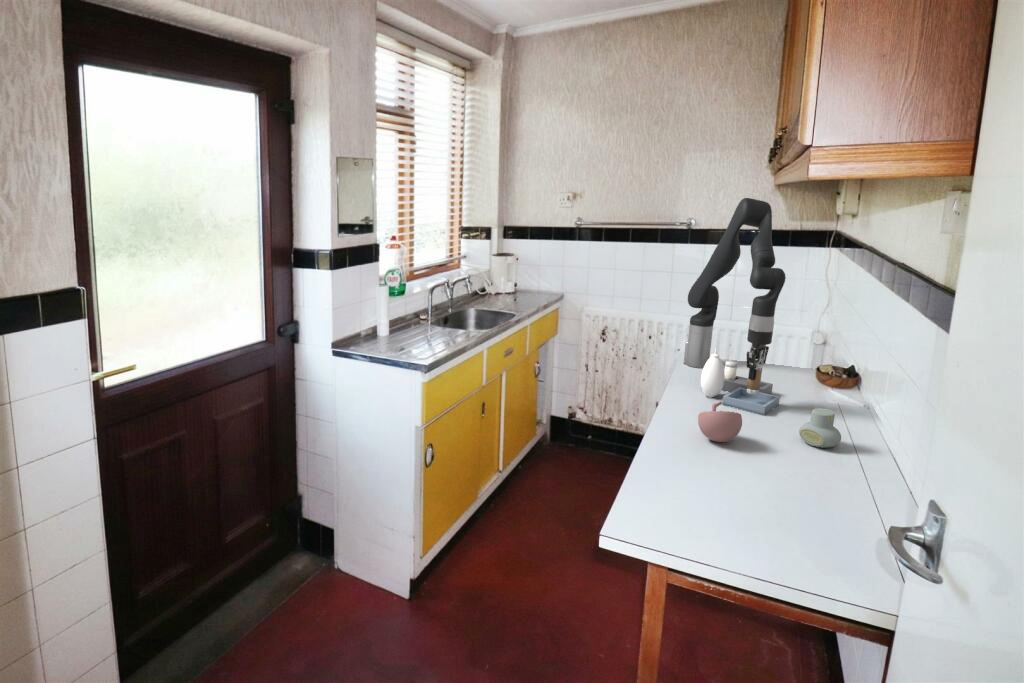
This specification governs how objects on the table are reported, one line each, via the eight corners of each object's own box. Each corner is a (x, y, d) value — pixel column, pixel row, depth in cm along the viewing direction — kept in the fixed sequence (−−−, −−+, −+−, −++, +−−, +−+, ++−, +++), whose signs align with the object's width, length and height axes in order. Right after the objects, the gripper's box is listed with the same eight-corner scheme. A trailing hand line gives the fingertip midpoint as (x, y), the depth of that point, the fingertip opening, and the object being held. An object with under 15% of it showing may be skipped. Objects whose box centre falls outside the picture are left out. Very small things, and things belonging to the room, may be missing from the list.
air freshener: (792, 440, 181) (797, 407, 179) (809, 435, 185) (814, 403, 183) (827, 453, 172) (833, 420, 170) (844, 448, 176) (850, 415, 174)
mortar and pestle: (732, 433, 184) (736, 396, 182) (745, 449, 173) (750, 411, 170) (691, 431, 185) (695, 395, 182) (701, 447, 173) (706, 409, 170)
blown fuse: (744, 392, 208) (748, 364, 206) (749, 390, 211) (752, 362, 209) (756, 395, 206) (760, 366, 204) (760, 393, 209) (764, 364, 206)
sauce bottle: (698, 398, 215) (704, 348, 210) (699, 391, 222) (704, 343, 217) (722, 401, 212) (728, 350, 208) (721, 394, 220) (727, 345, 215)
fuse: (720, 388, 227) (723, 361, 225) (725, 385, 230) (728, 359, 228) (731, 390, 224) (734, 364, 222) (735, 388, 227) (739, 362, 225)
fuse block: (712, 388, 226) (713, 377, 225) (722, 383, 233) (724, 372, 232) (762, 400, 215) (763, 389, 214) (771, 394, 222) (772, 383, 221)
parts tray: (722, 404, 209) (723, 396, 208) (738, 395, 219) (739, 387, 219) (763, 415, 200) (765, 406, 199) (778, 405, 210) (780, 397, 210)
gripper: (757, 323, 211) (751, 371, 215) (741, 329, 201) (734, 380, 205) (780, 327, 206) (773, 376, 210) (764, 333, 196) (757, 385, 200)
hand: (754, 378), depth 207 cm, fingers closed on blown fuse, 4 cm apart
